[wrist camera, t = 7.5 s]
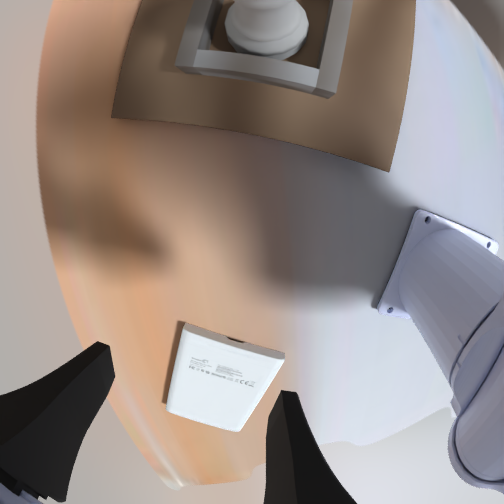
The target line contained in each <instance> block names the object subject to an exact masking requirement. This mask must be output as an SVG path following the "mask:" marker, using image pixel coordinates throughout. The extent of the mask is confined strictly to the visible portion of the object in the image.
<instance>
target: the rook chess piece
mask: <svg viewBox="0 0 504 504" xmlns="http://www.w3.org/2000/svg"><path fill="white" fill-rule="evenodd" d="M234 1H235V3H234V4H233V5H232V6H231V7H230V8H229V10H228V13H227V16H226V20H225V23H224V24H225V28H226V33H227V37H228V41H229V43H230V44H231V45H232V46H233V48H234V49H235V50H236V51H237V52H238V53H241V54H248V55H254V56H261V57H266V58H272V59H277V60H284V59H286V58H288V57H290V56H292V55H294V54H296V53H297V52H298V51H299V50H300V49H301V47H302V46H303V45H304V44H305V43H306V39H307V35H308V27H309V22H308V19H307V16H306V12H305V10H304V9H303V8H302V7H301V5H300V4H299V3H298V2H297V1H296V0H234Z"/></svg>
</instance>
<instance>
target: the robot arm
mask: <svg viewBox="0 0 504 504" xmlns="http://www.w3.org/2000/svg"><path fill="white" fill-rule="evenodd" d="M427 216H428V220H427V222H425V218H426V217H427ZM487 243H488V244H487ZM497 250H498V242H496V241H495V240H493V239H491V238H488V237H486V236H484V235H482V234H480V233H478V232H475V231H473V230H471V229H469V228H466V227H464V226H462V225H459V224H457V223H455V222H452V221H450V220H448V219H445V218H443V217H440V216H438V215H435V214H433V213H430V212H427V211H425V210H422V209H419V210H417V211H416V212H415V214H414V217H413V220H412V223H411V225H410V228H409V231H408V234H407V237H406V240H405V242H404V245H403V248H402V250H401V253H400V255H399V258H398V260H397V263H396V265H395V268H394V270H393V273H392V275H391V277H390V280H389V282H388V284H387V286H386V289H385V291H384V293H383V295H382V298H381V300H380V302H379V304H378V306H377V310H378V312H379V313H380V314H382V315H388V316H394V317H400V318H406V319H412V320H413V322H414V323H415V325H416V327H417V328H418V330H419V332H420V333H421V335H422V337H423V338H424V340H425V342H426V343H427V345H428V347H429V348H430V350H431V352H432V354H433V355H434V357H435V359H436V361H437V362H438V364H439V366H440V368H441V370H442V372H443V373H444V375H445V377H446V379H447V381H448V383H449V385H450V387H451V388H452V390H453V393H454V395H453V398H452V400H451V405H452V407H453V409H454V411H455V413H456V416H457V418H456V419H455V421H454V423H453V425H452V427H451V430H450V433H449V438H448V453H449V458H450V461H451V464H452V466H453V468H454V470H455V472H456V473H457V474H458V475H459V477H460V478H461V479H462V480H464V481H465V482H467V483H468V484H470V485H472V486H475V487H478V488H487V489H494V490H497V491H499V492H501V493H503V494H504V261H503V260H502V259H500V258H499V257H497V256H496V253H497ZM390 307H392V308H391V309H390V310H388V308H390ZM114 378H115V372H114V367H113V362H112V357H111V351H110V346H109V345H106V344H104V343H101V342H98V341H97V342H96V343H94V344H93V345H91V346H90V347H88V348H87V349H86V350H84V351H83V352H81V353H80V354H79V355H77V356H76V357H74V358H73V359H71V360H70V361H68V362H67V363H65V364H64V365H62V366H61V367H59V368H58V369H56V370H54V371H53V372H51V373H49V374H48V375H46V376H44V377H43V378H41V379H39V380H37V381H35V382H33V383H31V384H29V385H27V386H25V387H23V388H20V389H17V390H15V391H12V392H9V393H7V394H3V395H0V504H43V503H42V502H40V501H39V500H38V497H39V496H41V497H42V498H44V499H47V497H48V496H49V497H51V498H52V499H54V500H56V501H57V502H65V501H66V495H67V491H68V485H69V481H70V477H71V473H72V470H73V466H74V463H75V460H76V457H77V454H78V451H79V449H80V446H81V443H82V441H83V438H84V436H85V434H86V432H87V430H88V428H89V427H90V425H91V423H92V421H93V419H94V418H95V416H96V414H97V412H98V411H99V409H100V407H101V405H102V404H103V402H104V400H105V399H106V397H107V395H108V393H109V390H110V388H111V386H112V383H113V381H114ZM264 504H357V503H356V502H355V501H354V499H353V498H352V497H351V496H350V495H349V493H348V492H347V491H346V490H345V489H344V487H343V486H342V485H341V483H340V482H339V480H338V479H337V478H336V476H335V475H334V473H333V472H332V470H331V469H330V467H329V465H328V464H327V462H326V460H325V459H324V457H323V455H322V453H321V451H320V449H319V447H318V445H317V443H316V441H315V438H314V436H313V434H312V432H311V429H310V427H309V425H308V422H307V420H306V417H305V414H304V412H303V409H302V406H301V403H300V400H299V397H298V394H297V393H296V392H291V391H284V390H281V392H280V394H279V396H278V398H277V400H276V402H275V405H274V407H273V409H272V411H271V413H270V415H269V418H268V425H267V434H266V489H265V497H264Z"/></svg>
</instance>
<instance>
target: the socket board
mask: <svg viewBox="0 0 504 504" xmlns="http://www.w3.org/2000/svg"><path fill="white" fill-rule="evenodd" d="M296 1H297V2H298V3H299V4H300V5H301V7H302V8H303V9H304V10H305V12H306V16H307V19H308V22H309V27H308V35H307V39H306V43H305V44H304V45H303V46H302V47H301V49H300V50H299V51H298V52H297V53H296V54H294V55H292V56H290V57H288V58H286V59H284V60H277V59H272V58H266V57H261V56H254V55H248V54H241V53H238V52H237V51H236V50H235V49H234V48H233V46H232V45H231V44H230V43H229V41H228V37H227V33H226V28H225V24H224V23H225V20H226V16H227V13H228V10H229V8H230V7H231V6H232V5H233V4H234V3H235V1H234V0H143V1H142V3H141V6H140V9H139V11H138V14H137V17H136V20H135V23H134V26H133V29H132V32H131V35H130V38H129V42H128V45H127V49H126V52H125V56H124V60H123V63H122V67H121V71H120V76H119V80H118V84H117V89H116V94H115V99H114V104H113V110H112V116H111V118H123V119H140V120H153V121H164V122H174V123H183V124H191V125H198V126H205V127H212V128H219V129H225V130H231V131H236V132H242V133H247V134H252V135H257V136H262V137H267V138H271V139H276V140H280V141H285V142H289V143H293V144H297V145H301V146H305V147H309V148H313V149H316V150H320V151H323V152H327V153H331V154H334V155H337V156H341V157H344V158H347V159H350V160H354V161H357V162H360V163H363V164H366V165H369V166H372V167H375V168H378V169H380V170H383V171H386V172H389V171H390V167H391V164H392V160H393V156H394V152H395V148H396V143H397V139H398V134H399V130H400V125H401V120H402V115H403V110H404V105H405V99H406V94H407V88H408V81H409V74H410V67H411V59H412V50H413V40H414V28H415V10H416V0H296Z"/></svg>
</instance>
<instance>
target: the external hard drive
mask: <svg viewBox="0 0 504 504" xmlns="http://www.w3.org/2000/svg"><path fill="white" fill-rule="evenodd" d="M284 360H285V353H283V352H279V351H275V350H272V349H268V348H264V347H261V346H257V345H254V344H250V343H247V342H243V343H240V342H237V341H233V340H230V339H228V338H227V336H224V335H221V334H218V333H215V332H212V331H209V330H206V329H203V328H200V327H197V326H194V325H192V324H189V323H185V325H184V327H183V330H182V334H181V339H180V343H179V347H178V352H177V356H176V360H175V365H174V370H173V374H172V379H171V384H170V388H169V393H168V399H167V404H166V410H167V411H168V412H170V413H173V414H176V415H179V416H182V417H185V418H188V419H191V420H194V421H197V422H201V423H204V424H207V425H211V426H215V427H218V428H222V429H226V430H230V431H235V432H238V431H240V430H241V428H242V427H243V425H244V424H245V422H246V421H247V419H248V418H249V416H250V415H251V413H252V412H253V410H254V409H255V407H256V405H257V404H258V402H259V401H260V399H261V398H262V396H263V395H264V393H265V391H266V390H267V388H268V387H269V385H270V383H271V382H272V380H273V378H274V377H275V375H276V373H277V372H278V370H279V368H280V367H281V365H282V364H283V362H284Z"/></svg>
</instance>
